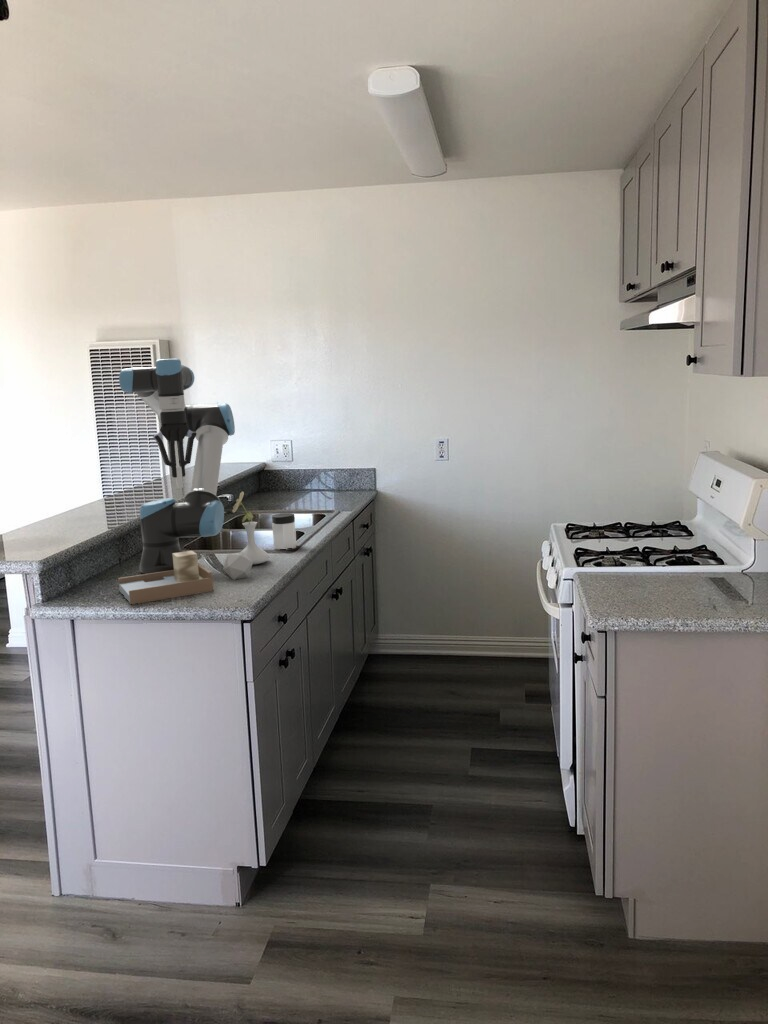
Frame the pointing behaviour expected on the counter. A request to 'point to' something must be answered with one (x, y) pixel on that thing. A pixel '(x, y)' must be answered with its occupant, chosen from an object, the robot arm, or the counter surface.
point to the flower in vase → (251, 537)
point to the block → (185, 566)
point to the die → (237, 565)
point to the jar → (284, 530)
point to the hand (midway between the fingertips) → (179, 487)
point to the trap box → (163, 586)
